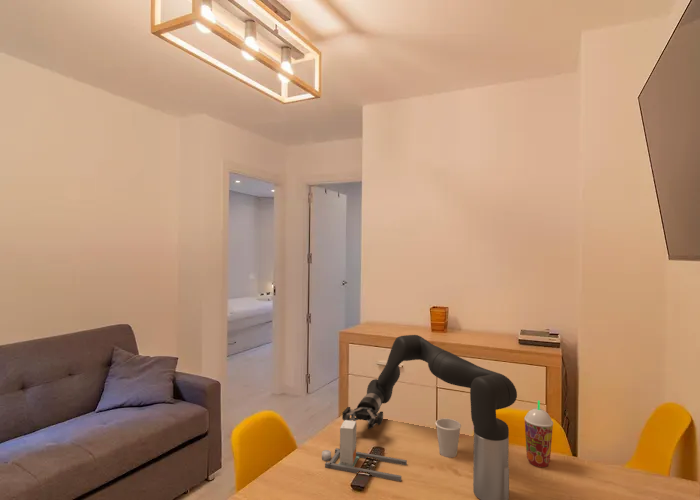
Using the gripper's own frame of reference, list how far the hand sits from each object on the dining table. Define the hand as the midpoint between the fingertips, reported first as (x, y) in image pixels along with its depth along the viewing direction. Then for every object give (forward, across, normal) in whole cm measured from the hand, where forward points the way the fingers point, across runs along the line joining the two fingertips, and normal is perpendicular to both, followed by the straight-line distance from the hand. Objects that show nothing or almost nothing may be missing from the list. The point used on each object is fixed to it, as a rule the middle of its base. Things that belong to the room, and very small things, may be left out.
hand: (357, 424), depth 138 cm
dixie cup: (-6, +30, +8) cm, 32 cm away
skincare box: (+10, 0, +8) cm, 13 cm away
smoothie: (-8, +58, +8) cm, 59 cm away
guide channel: (+10, +5, +8) cm, 14 cm away
